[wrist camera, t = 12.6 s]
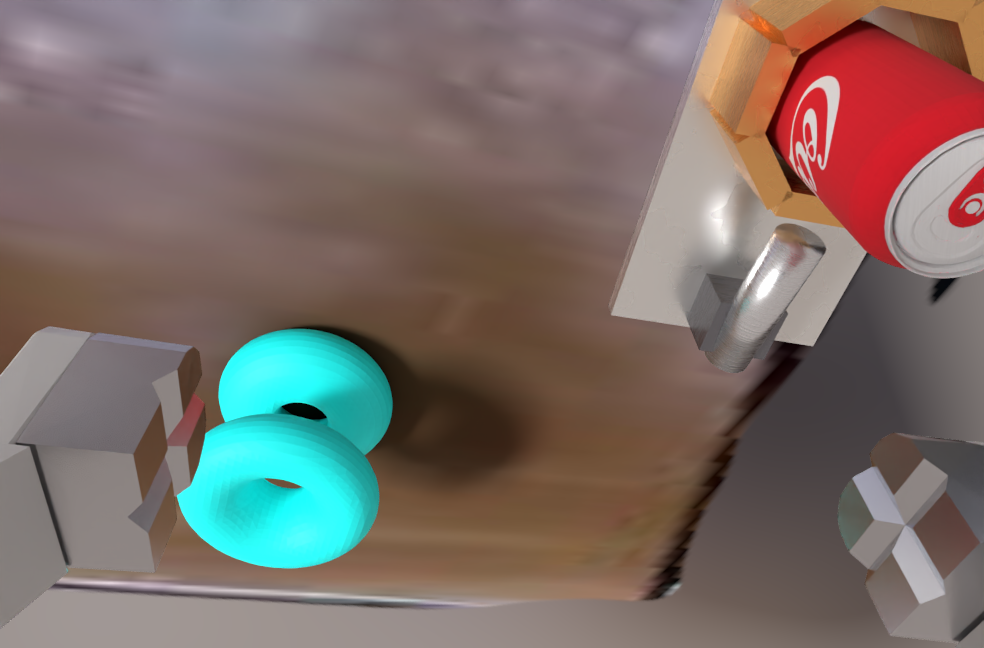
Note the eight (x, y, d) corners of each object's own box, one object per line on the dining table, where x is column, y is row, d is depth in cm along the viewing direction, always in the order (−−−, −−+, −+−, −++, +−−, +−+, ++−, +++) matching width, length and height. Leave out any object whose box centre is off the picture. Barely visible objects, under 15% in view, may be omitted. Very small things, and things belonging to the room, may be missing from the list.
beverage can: (725, 125, 33) (829, 256, 23) (808, -10, 30) (970, 77, 20) (834, 172, 34) (976, 315, 25) (925, 49, 31) (1130, 156, 21)
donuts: (350, 594, 39) (159, 558, 37) (372, 458, 47) (217, 423, 45) (398, 474, 33) (177, 424, 31) (414, 344, 41) (239, 298, 39)
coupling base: (846, -380, 24) (939, -429, 19) (1156, -289, 25) (1314, -313, 21) (607, 306, 40) (624, 373, 35) (805, 337, 41) (847, 405, 37)
